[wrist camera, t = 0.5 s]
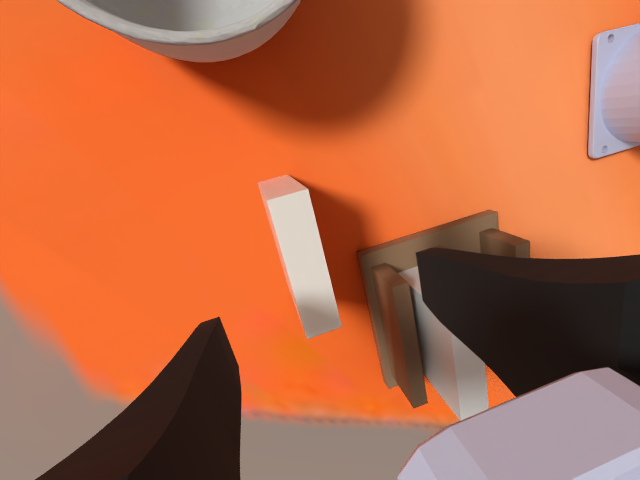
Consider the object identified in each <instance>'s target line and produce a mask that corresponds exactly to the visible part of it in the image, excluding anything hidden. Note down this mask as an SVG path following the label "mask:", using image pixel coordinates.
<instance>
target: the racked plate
mask: <svg viewBox="0 0 640 480" xmlns="http://www.w3.org/2000/svg"><path fill="white" fill-rule="evenodd" d="M398 274H399V275H400V276H402V277H403V278H404V279H405V280H406V281H408V282H409V288H410V294H411V301H412V307H413V313H414V320H415V326H416V332H417V338H418V345H419V351H420V357H421V364H422V370H423V374H424V376H425V377H426V378H427V379H428V381H429V382H430V383H431V384H432V386H433V387H434V388H435V389H436V391H437V392H438V393H439V394H440V396H441V397H442V398H443V399H444V401H445V402H446V403H447V404H448V406H449V407H450V408H451V410H452V411H453V412H454V413H455V415H456V416H457V417H458V418H459V420H460V421H461V420H463V419H466V418H468V417H470V416H473V415H475V414H478V413H480V412H482V411H485V410H487V409H489V405H488V392H487V379H486V367H485V363H484V362H483V361H482V360H481V359H480V358H479V357H478V356H477V355H475V354H474V353H473V352H472V351H471V350H470V349H469V348H468V347H467V346H466V345H464V344H463V343H462V342H461V341H460V340H459V339H458V338H457V337H456V336H455V335H453V334H452V333H451V332H450V331H449V330H448V329H447V328H446V327H445V326H444V325H443V324H442V323H441V322H440V321H439V320H438V319H437V318H436V317H435V316H434V315H433V313H432V312H431V311H430V310H429V308H428V307H427V306H426V305H425V303H424V302H423V300H422V293H421V286H420V279H419V272H418V266H417V267H414V268H411V269H408V270H405V271H402V272H399V273H398Z"/></svg>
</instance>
